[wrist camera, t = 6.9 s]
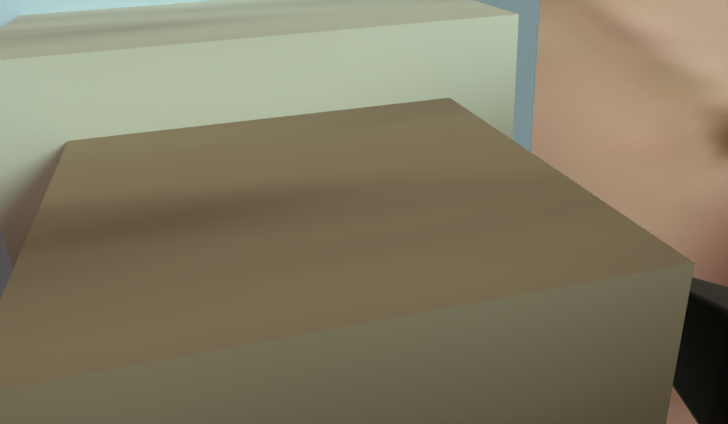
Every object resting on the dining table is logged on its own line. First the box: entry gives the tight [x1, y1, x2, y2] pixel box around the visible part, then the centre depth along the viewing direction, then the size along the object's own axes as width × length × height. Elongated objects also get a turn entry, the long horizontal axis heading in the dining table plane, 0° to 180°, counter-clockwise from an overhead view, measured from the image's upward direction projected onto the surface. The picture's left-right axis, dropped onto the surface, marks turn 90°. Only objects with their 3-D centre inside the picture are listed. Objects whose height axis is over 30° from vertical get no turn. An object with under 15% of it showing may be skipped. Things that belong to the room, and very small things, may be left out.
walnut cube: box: [0, 98, 695, 424], centre depth 8 cm, size 5×5×5 cm
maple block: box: [0, 0, 519, 269], centre depth 12 cm, size 7×7×4 cm
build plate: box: [0, 0, 540, 299], centre depth 14 cm, size 12×12×1 cm
